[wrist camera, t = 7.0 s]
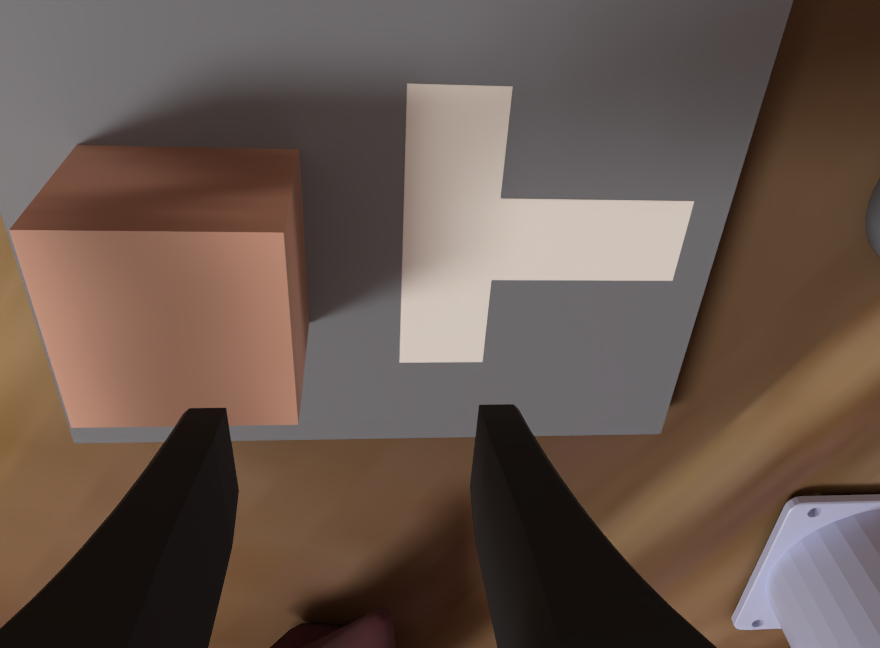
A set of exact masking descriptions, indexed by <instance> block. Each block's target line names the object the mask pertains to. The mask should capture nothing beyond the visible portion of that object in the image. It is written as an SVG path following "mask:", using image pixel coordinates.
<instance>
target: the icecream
mask: <svg viewBox="0 0 880 648" xmlns="http://www.w3.org/2000/svg"><path fill="white" fill-rule="evenodd" d="M270 648H396V646H395V636H394V624H393V618H392V614H391V612H390V611H389V610H388V609H385V608H381V609H378V610H375V611H373V612H371V613H369V614H367V615H365V616H363V617H361V618H360V619H358V620H356V621H354V622H352V623H350V624H348V625H329V624H318V623H302V624H300V625H298V626H296V627H294V628H292V629H290V630H289V631H288V632H287V633H286V634H285V635H284V636H282V637H281V638H280V639H279V640H278V641H277V642H276V643H275V644H274V645H272V646H271V647H270Z"/></svg>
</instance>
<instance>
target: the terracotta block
mask: <svg viewBox="0 0 880 648" xmlns="http://www.w3.org/2000/svg"><path fill="white" fill-rule="evenodd" d="M9 231H10V235H11V238H12V241H13V244H14V247H15V250H16V254H17V257H18V260H19V263H20V266H21V269H22V273H23V276H24V279H25V282H26V285H27V289H28V292H29V295H30V298H31V301H32V304H33V308H34V311H35V314H36V317H37V320H38V323H39V327H40V330H41V333H42V336H43V339H44V342H45V346H46V349H47V352H48V355H49V358H50V362H51V365H52V368H53V371H54V374H55V377H56V381H57V384H58V387H59V390H60V393H61V396H62V400H63V403H64V406H65V409H66V412H67V415H68V419H69V422H70V425H71V428H98V427H171V426H176V424H177V423H178V421H179V419H180V418H181V416H182V415H183V413H184V412H186V411H187V410H188V409H189V408H226V410H227V417H228V423H229V426H244V425H298V422H299V413H300V404H301V395H302V386H303V376H304V367H305V358H306V349H307V339H308V330H309V310H308V293H307V275H306V258H305V241H304V224H303V207H302V190H301V172H300V155H299V149H256V148H206V147H156V146H105V145H76V146H75V148H74V149H73V150H72V151H71V153H70V154H69V155H68V156H67V158H66V159H65V160H64V161H63V163H62V164H61V165H60V166H59V168H58V169H57V170H56V171H55V173H54V174H53V175H52V177H51V178H50V179H49V180H48V182H47V183H46V184H45V185H44V187H43V188H42V189H41V190H40V192H39V193H38V194H37V195H36V197H35V198H34V199H33V200H32V202H31V203H30V204H29V205H28V207H27V208H26V209H25V210H24V212H23V213H22V214H21V216H20V217H19V218H18V219H17V221H16V222H15V223H14V224H13V226H12V227H11V228H10V229H9Z"/></svg>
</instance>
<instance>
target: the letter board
mask: <svg viewBox="0 0 880 648" xmlns="http://www.w3.org/2000/svg"><path fill="white" fill-rule="evenodd" d="M792 3H793V0H0V212H1V215H2V218H3V221H4V225H5V228H6V231H7V234H8V237H9V240H10V243H11V247H12V250H13V253H14V256H15V259H16V262H17V265H18V269H19V272H20V275H21V278H22V281H23V284H24V287H25V291H26V294H27V297H28V300H29V303H30V306H31V309H32V313H33V316H34V319H35V322H36V325H37V328H38V331H39V335H40V338H41V341H42V344H43V347H44V350H45V353H46V357H47V360H48V363H49V366H50V369H51V372H52V375H53V379H54V382H55V385H56V388H57V391H58V394H59V397H60V401H61V404H62V407H63V410H64V413H65V416H66V419H67V423H68V426H69V429H70V432H71V435H72V438H73V441H74V443H124V442H165V441H166V439H167V438H168V436H169V435H170V433H171V432H172V430H173V429H174V427H175V426H171V427H98V428H71V425H70V422H69V419H68V415H67V412H66V409H65V406H64V403H63V400H62V396H61V393H60V390H59V387H58V384H57V381H56V377H55V374H54V371H53V368H52V365H51V362H50V358H49V355H48V352H47V349H46V346H45V342H44V339H43V336H42V333H41V330H40V327H39V323H38V320H37V317H36V314H35V311H34V308H33V304H32V301H31V298H30V295H29V292H28V289H27V285H26V282H25V279H24V276H23V273H22V269H21V266H20V263H19V260H18V257H17V254H16V250H15V247H14V244H13V241H12V238H11V235H10V231H9V229H10V228H11V227H12V226H13V224H14V223H15V222H16V221H17V219H18V218H19V217H20V216H21V214H22V213H23V212H24V210H25V209H26V208H27V207H28V205H29V204H30V203H31V202H32V200H33V199H34V198H35V197H36V195H37V194H38V193H39V192H40V190H41V189H42V188H43V187H44V185H45V184H46V183H47V182H48V180H49V179H50V178H51V177H52V175H53V174H54V173H55V171H56V170H57V169H58V168H59V166H60V165H61V164H62V163H63V161H64V160H65V159H66V158H67V156H68V155H69V154H70V153H71V151H72V150H73V149H74V148H75V146H76V145H105V146H156V147H206V148H256V149H299V155H300V172H301V190H302V207H303V224H304V241H305V258H306V275H307V293H308V310H309V330H308V339H307V349H306V358H305V367H304V376H303V386H302V395H301V404H300V413H299V422H298V425H244V426H229V430H230V437H231V441H250V440H313V439H376V438H439V437H476V428H477V419H478V410H479V405H497V404H514V405H515V406H516V407H517V408H518V409H519V410H520V412H521V414H522V416H523V418H524V420H525V421H526V423H527V425H528V427H529V428H530V430H531V432H532V433H533V435H534V436H565V435H628V434H661V431H662V428H663V424H664V421H665V418H666V415H667V411H668V408H669V405H670V402H671V398H672V395H673V392H674V388H675V385H676V382H677V379H678V375H679V372H680V369H681V366H682V362H683V359H684V356H685V353H686V349H687V346H688V343H689V340H690V336H691V333H692V330H693V326H694V323H695V320H696V317H697V313H698V310H699V307H700V304H701V300H702V297H703V294H704V291H705V287H706V284H707V281H708V277H709V274H710V271H711V268H712V264H713V261H714V258H715V255H716V251H717V248H718V245H719V242H720V238H721V235H722V232H723V229H724V225H725V222H726V219H727V215H728V212H729V209H730V206H731V202H732V199H733V196H734V193H735V189H736V186H737V183H738V180H739V176H740V173H741V170H742V166H743V163H744V160H745V157H746V153H747V150H748V147H749V144H750V140H751V137H752V134H753V131H754V127H755V124H756V121H757V117H758V114H759V111H760V108H761V104H762V101H763V98H764V95H765V91H766V88H767V85H768V82H769V78H770V75H771V72H772V69H773V65H774V62H775V59H776V55H777V52H778V49H779V46H780V42H781V39H782V36H783V33H784V29H785V26H786V23H787V20H788V16H789V13H790V10H791V6H792Z"/></svg>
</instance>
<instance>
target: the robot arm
mask: <svg viewBox="0 0 880 648" xmlns="http://www.w3.org/2000/svg"><path fill="white" fill-rule="evenodd" d="M470 490H471V502H472V513H473V523H474V533H475V541H476V546H477V551H478V556H479V561H480V566H481V571H482V576H483V581H484V585H485V590H486V595H487V600H488V604H489V609H490V614H491V619H492V623H493V628H494V633H495V638H496V642H497V647H498V648H716V647H715V646H714V645H713V644H712V643H711V642H710V641H709V640H708V639H706V638H705V637H704V636H703V635H702V634H701V633H700V632H699V631H698V630H696V629H695V628H694V627H693V626H692V625H691V624H690V623H689V622H687V621H686V620H685V619H684V618H683V617H682V616H681V615H680V614H679V613H677V612H676V611H675V610H674V609H673V608H672V607H671V606H670V605H669V604H668V603H667V602H666V601H665V600H664V599H663V598H662V597H661V596H660V595H659V594H658V593H657V592H656V591H655V590H654V589H653V588H652V587H651V586H650V585H649V584H648V583H647V582H646V581H645V580H644V579H643V578H642V577H641V576H640V575H639V574H638V573H637V572H636V570H635V569H634V568H633V567H632V566H631V565H630V564H629V563H628V562H627V561H626V560H625V559H624V557H623V556H622V555H621V554H620V553H619V552H618V551H617V549H616V548H615V547H614V546H613V545H612V544H611V542H610V541H609V540H608V539H607V538H606V536H605V535H604V534H603V533H602V532H601V530H600V529H599V528H598V527H597V525H596V524H595V523H594V522H593V520H592V519H591V518H590V517H589V515H588V514H587V513H586V511H585V510H584V509H583V507H582V506H581V505H580V503H579V502H578V501H577V499H576V498H575V497H574V495H573V494H572V492H571V491H570V490H569V488H568V487H567V485H566V484H565V483H564V481H563V480H562V478H561V477H560V476H559V474H558V473H557V471H556V470H555V468H554V467H553V465H552V464H551V462H550V461H549V459H548V458H547V456H546V454H545V453H544V451H543V450H542V448H541V447H540V445H539V443H538V442H537V440H536V438H535V437H534V435H533V433H532V432H531V430H530V428H529V427H528V425H527V423H526V421H525V420H524V418H523V416H522V414H521V412H520V410H519V409H518V408H517V407H516V406H515V405H514V404H497V405H479V410H478V419H477V428H476V437H475V446H474V455H473V464H472V473H471V482H470ZM238 492H239V490H238V483H237V477H236V470H235V463H234V457H233V450H232V443H231V437H230V430H229V423H228V417H227V410H226V408H189V409H188V410H187V411H186V412H184V413H183V415H182V416H181V418H180V419H179V421H178V423H177V424H176V426H175V427H174V429H173V430H172V432H171V433H170V435H169V436H168V438H167V439H166V441H165V442H164V443H163V445H162V446H161V448H160V449H159V451H158V452H157V453H156V455H155V456H154V458H153V459H152V460H151V462H150V463H149V465H148V466H147V467H146V469H145V470H144V471H143V473H142V474H141V475H140V477H139V478H138V479H137V481H136V482H135V483H134V484H133V486H132V487H131V488H130V490H129V491H128V492H127V494H126V495H125V496H124V498H123V499H122V500H121V501H120V503H119V504H118V505H117V506H116V508H115V509H114V510H113V511H112V513H111V514H110V515H109V516H108V517H107V518H106V520H105V521H104V522H103V523H102V524H101V525H100V527H99V528H98V529H97V530H96V531H95V532H94V534H93V535H92V536H91V537H90V538H89V540H88V541H87V542H86V543H85V544H84V545H83V547H82V548H81V549H80V550H79V551H78V552H77V553H76V554H75V555H74V556H73V558H72V559H71V560H70V561H69V562H68V563H67V564H66V565H65V566H64V567H63V568H62V569H61V570H60V571H59V572H58V573H57V575H56V576H55V577H54V578H53V579H52V580H51V581H50V582H49V583H48V584H47V585H46V586H45V587H44V588H43V589H42V590H41V591H40V592H39V593H38V594H37V595H36V596H35V597H34V598H33V599H32V600H31V601H30V602H28V603H27V604H26V605H25V606H24V607H23V608H22V609H21V610H20V611H19V612H18V613H17V614H16V615H14V616H13V617H12V618H11V619H10V620H9V621H8V622H7V623H6V624H5V625H4V626H3V627H1V628H0V648H208V646H209V642H210V637H211V633H212V629H213V625H214V621H215V617H216V613H217V608H218V604H219V600H220V596H221V592H222V588H223V583H224V579H225V575H226V571H227V567H228V562H229V558H230V554H231V549H232V544H233V536H234V528H235V519H236V510H237V501H238ZM731 620H732V622H733V624H734V626H735V628H737V629H739V630H756V629H780V628H782V630H783V632H784V634H785V636H786V638H787V640H788V642H789V644H790V647H791V648H880V494H869V495H828V496H798V497H794V498H792V499H790V500H789V501H788V502H787V503H786V504H785V506H784V508H783V510H782V512H781V514H780V516H779V518H778V520H777V522H776V525H775V527H774V529H773V531H772V533H771V535H770V537H769V539H768V541H767V544H766V546H765V548H764V550H763V552H762V554H761V556H760V558H759V561H758V563H757V565H756V567H755V569H754V571H753V573H752V575H751V577H750V580H749V582H748V584H747V586H746V588H745V590H744V592H743V594H742V596H741V599H740V601H739V603H738V605H737V607H736V609H735V611H734V613H733V615H732V619H731Z"/></svg>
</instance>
